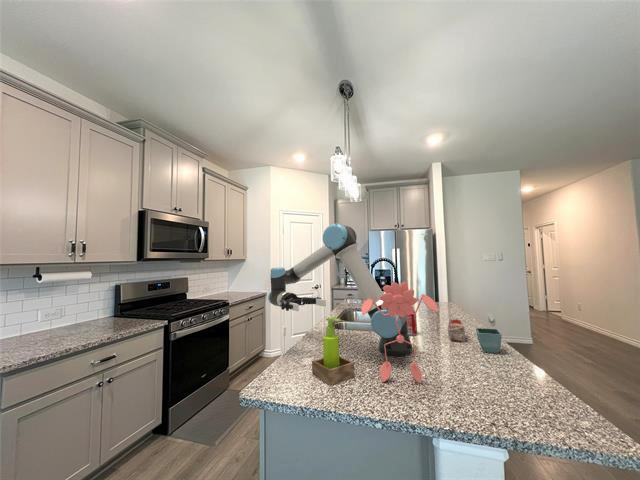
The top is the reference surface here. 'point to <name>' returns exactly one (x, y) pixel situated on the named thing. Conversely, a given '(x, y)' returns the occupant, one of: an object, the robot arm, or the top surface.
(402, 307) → the figurine
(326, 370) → the walnut caddy
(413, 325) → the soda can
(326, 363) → the soap dispenser
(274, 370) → the top surface
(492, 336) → the flower pot
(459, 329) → the food item
